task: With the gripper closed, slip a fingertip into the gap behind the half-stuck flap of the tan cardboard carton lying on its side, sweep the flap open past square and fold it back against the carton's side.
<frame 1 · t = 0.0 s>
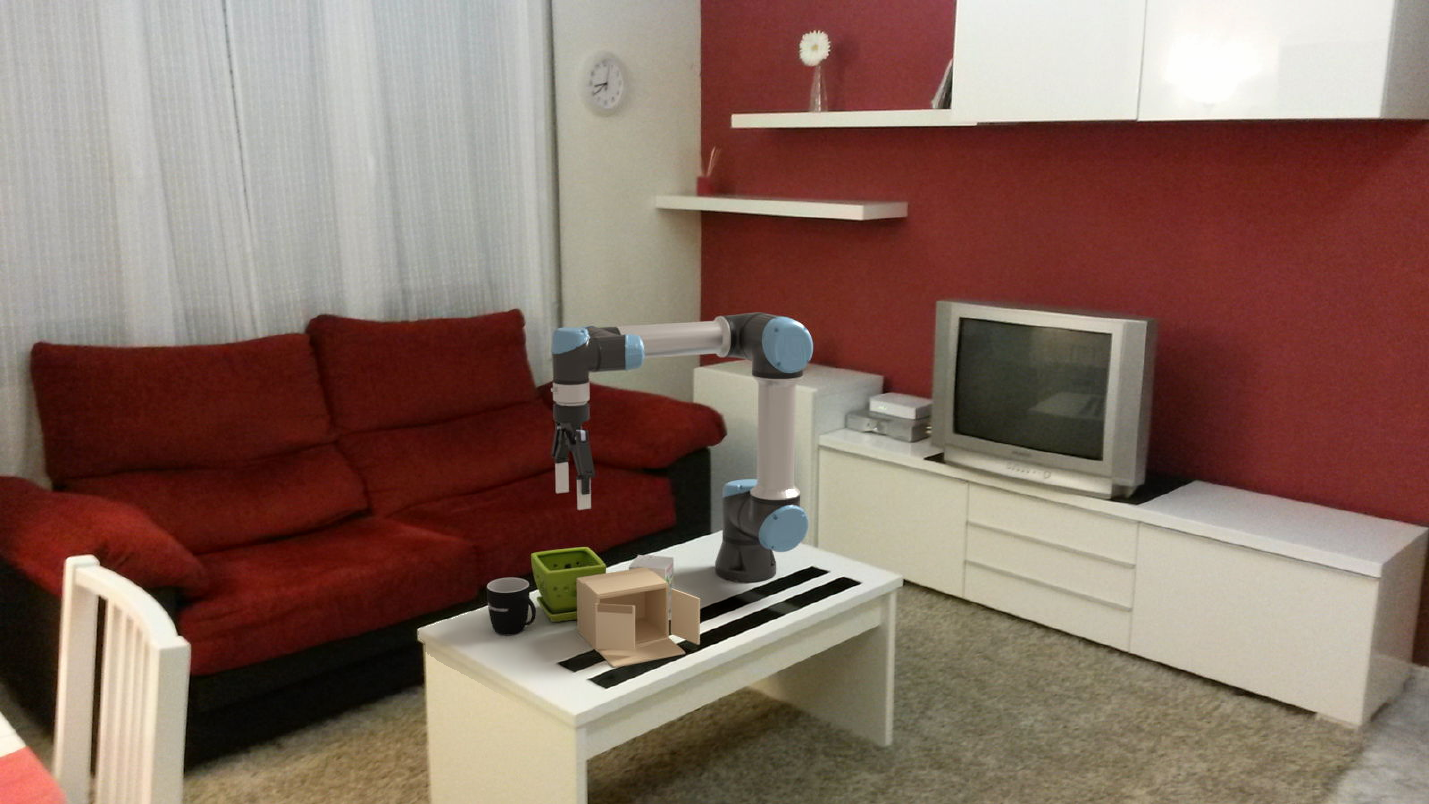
hand: (573, 500, 239), 28 cm above the table, fingers open, 13 cm apart
carton: (622, 635, 240), on the table
flower pot: (568, 613, 252), on the table
ink box: (651, 611, 253), on the table
flap: (615, 627, 228), point 6 cm above the table, hinge at 35.0°
mug: (514, 632, 241), on the table
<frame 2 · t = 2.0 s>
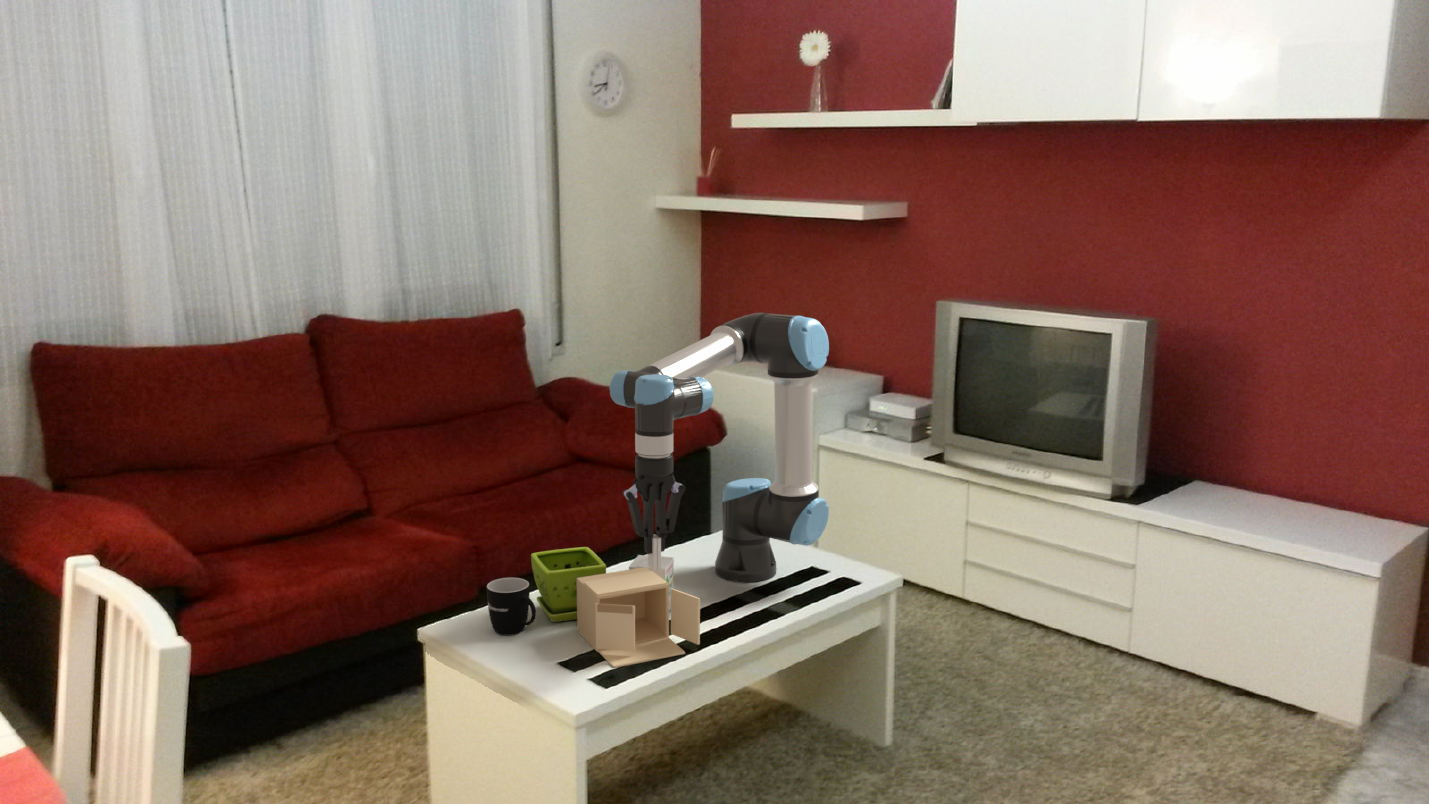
hand: (654, 567, 227), 18 cm above the table, fingers closed
nothing on the table moved.
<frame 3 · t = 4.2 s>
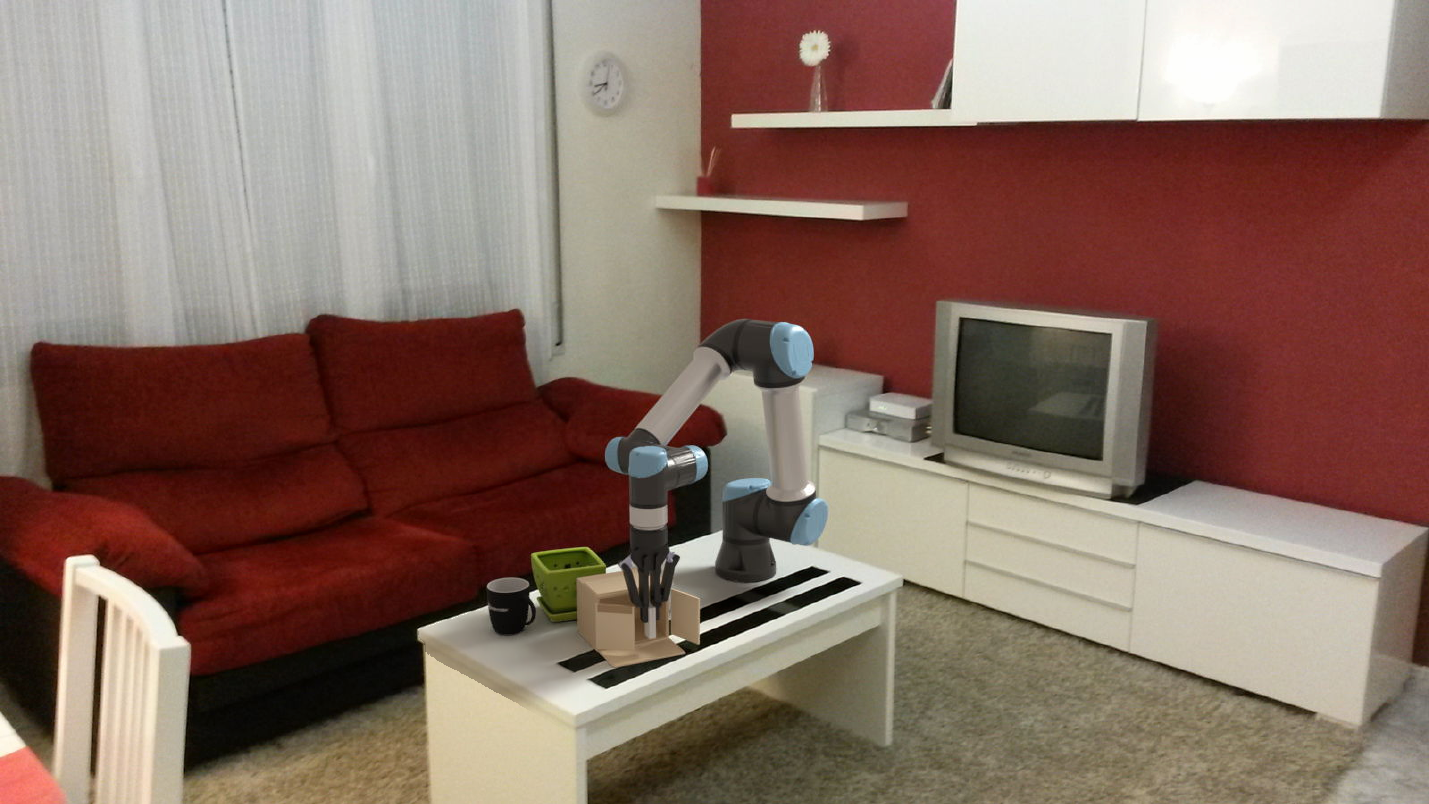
hand: (650, 636, 229), 4 cm above the table, fingers closed
flap: (615, 627, 228), point 6 cm above the table, hinge at 36.0°, touching gripper
everything else where it was.
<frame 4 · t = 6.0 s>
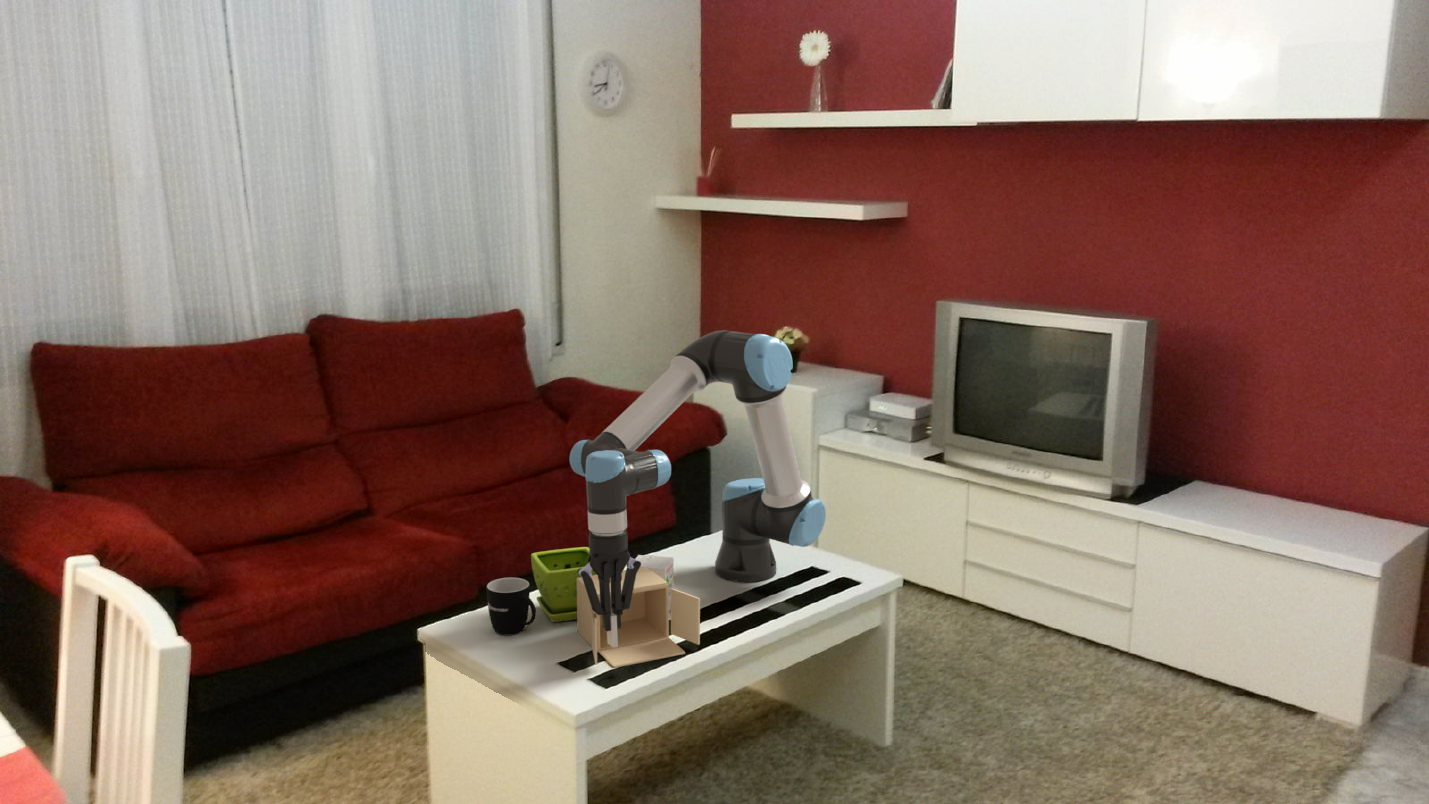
hand: (612, 644, 224), 4 cm above the table, fingers closed
flap: (594, 633, 225), point 6 cm above the table, hinge at 106.5°, touching gripper
everything else where it was.
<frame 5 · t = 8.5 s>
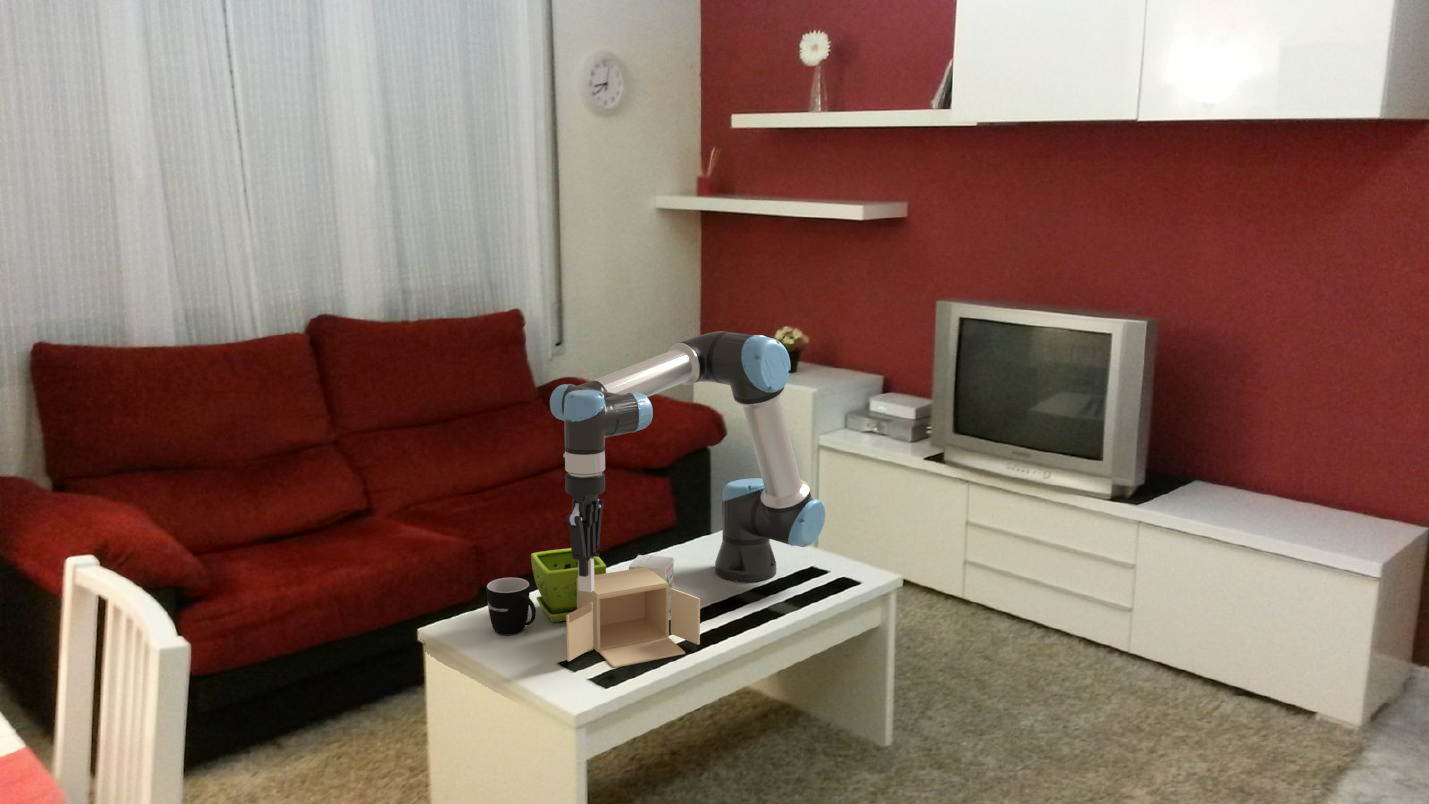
hand: (586, 590, 219), 17 cm above the table, fingers closed
flap: (580, 631, 226), point 6 cm above the table, hinge at 147.8°
everything else where it was.
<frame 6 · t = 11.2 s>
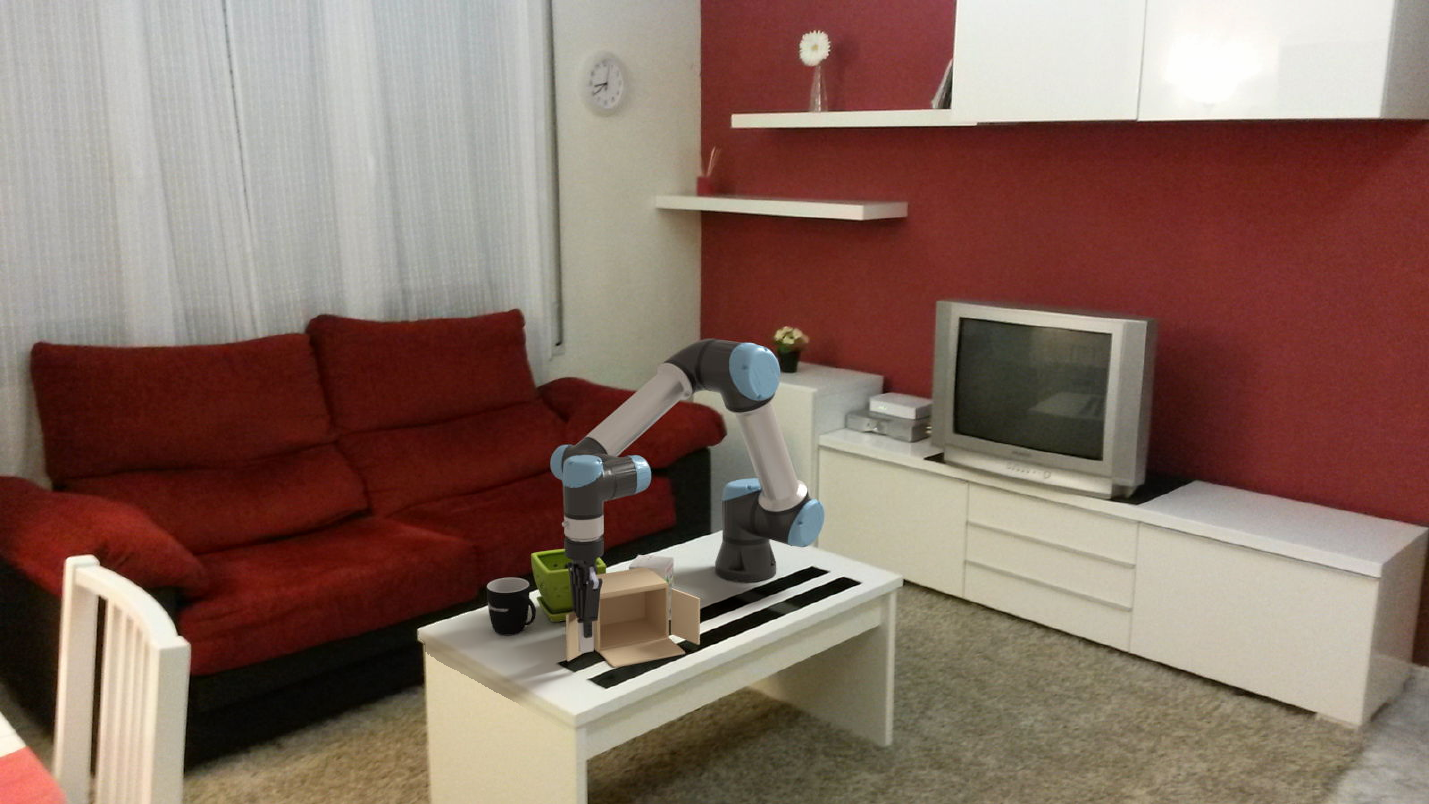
hand: (585, 650, 222), 4 cm above the table, fingers closed
flap: (580, 631, 226), point 6 cm above the table, hinge at 148.5°, touching gripper
everything else where it was.
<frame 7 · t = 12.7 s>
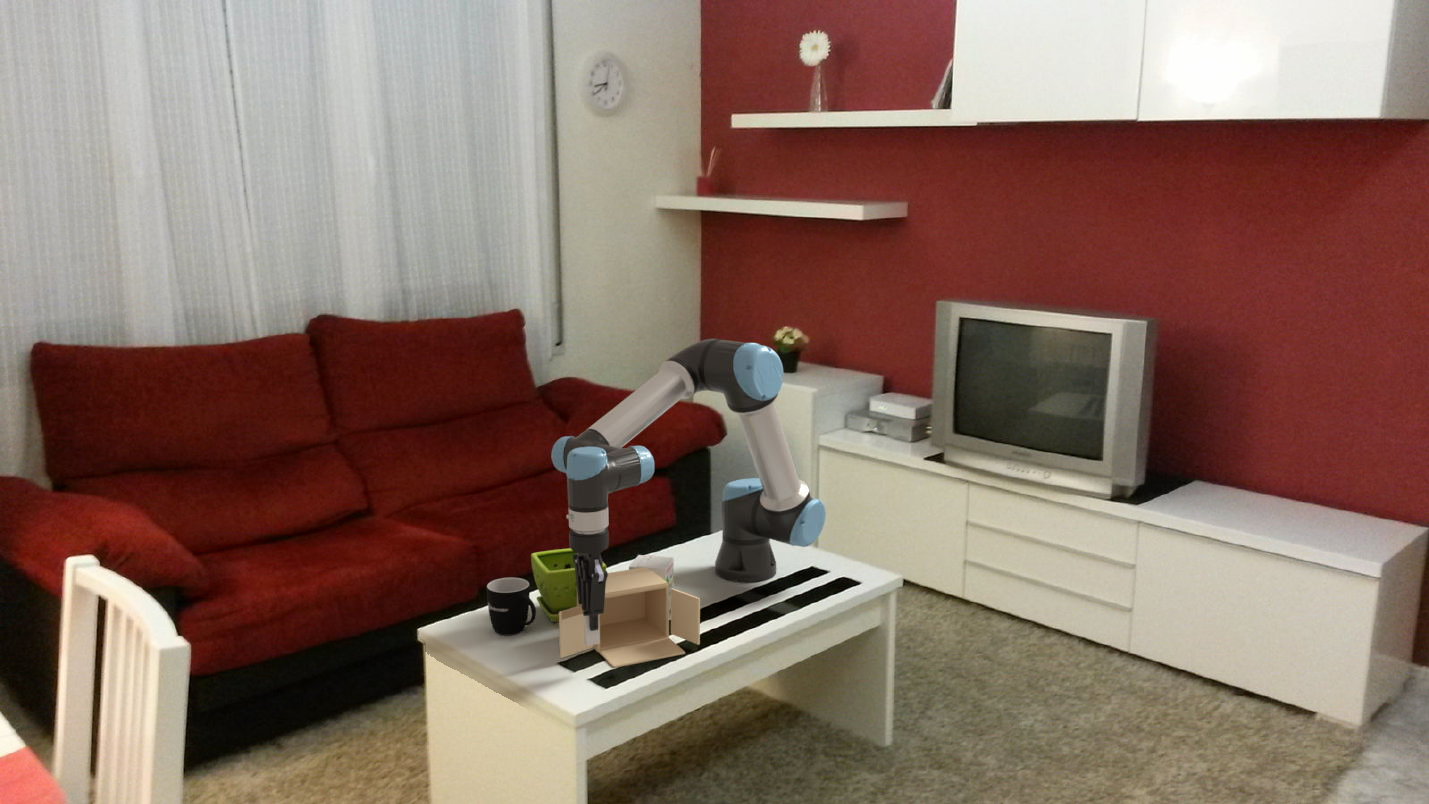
hand: (591, 643, 221), 6 cm above the table, fingers closed
flap: (576, 629, 227), point 6 cm above the table, hinge at 164.0°
everything else where it was.
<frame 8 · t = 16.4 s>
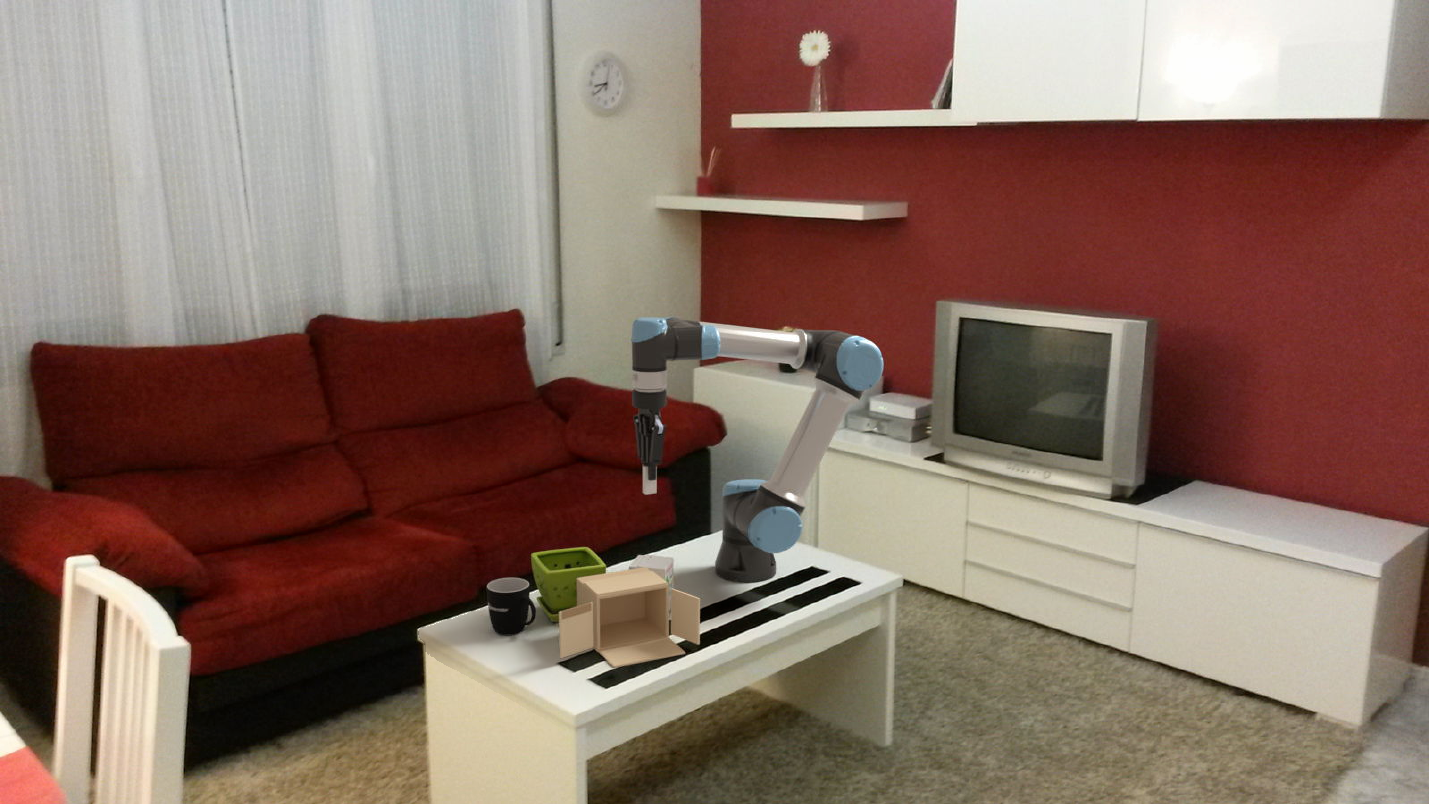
hand: (649, 493, 251), 26 cm above the table, fingers closed
nothing on the table moved.
at the end: flap at +164° (first picture: +35°) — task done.
